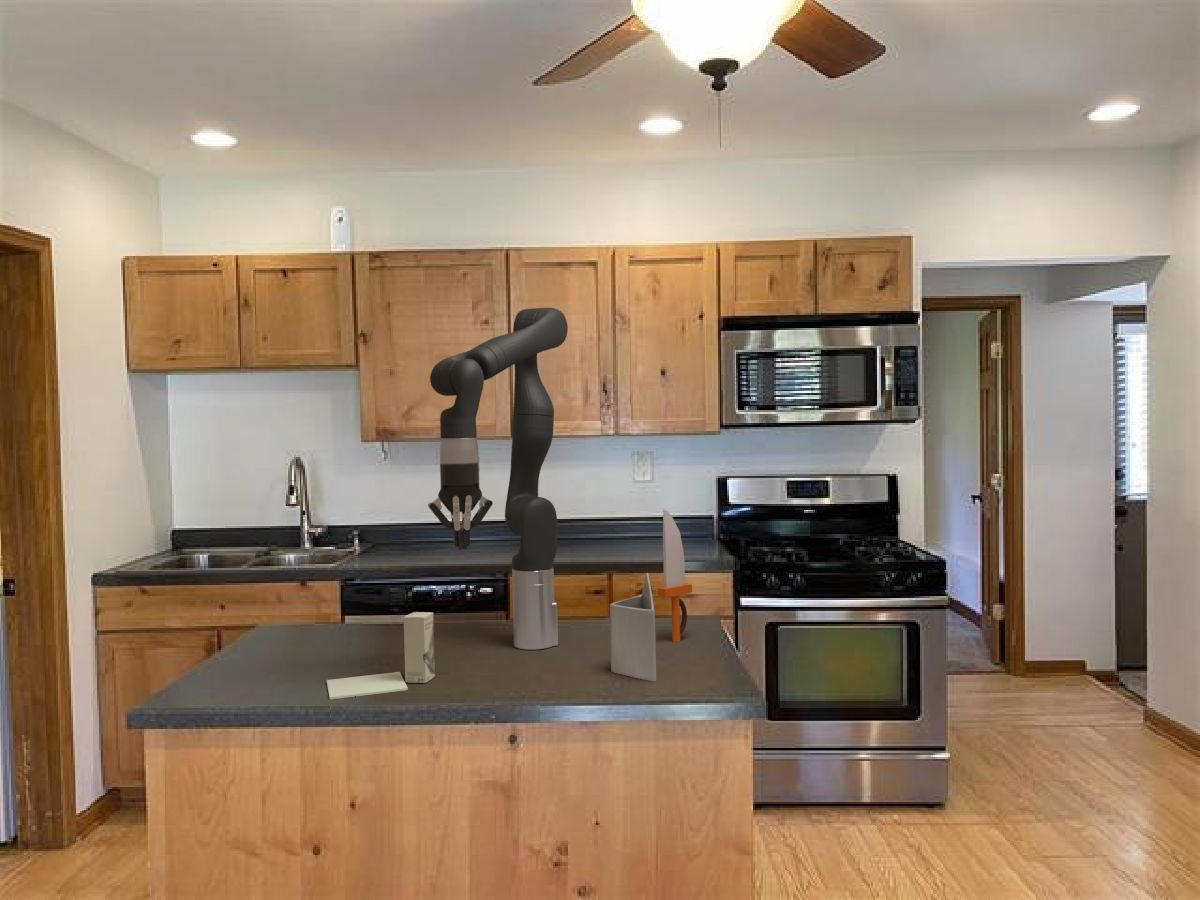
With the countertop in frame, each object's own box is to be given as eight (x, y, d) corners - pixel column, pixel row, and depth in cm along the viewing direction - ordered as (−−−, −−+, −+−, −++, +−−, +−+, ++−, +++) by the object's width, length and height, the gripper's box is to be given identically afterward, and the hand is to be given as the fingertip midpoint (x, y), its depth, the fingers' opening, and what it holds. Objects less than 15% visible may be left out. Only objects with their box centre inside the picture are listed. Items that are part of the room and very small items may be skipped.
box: (425, 684, 171) (423, 617, 170) (404, 683, 172) (402, 616, 171) (436, 676, 176) (434, 611, 176) (415, 675, 177) (413, 611, 176)
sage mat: (399, 673, 178) (399, 671, 178) (407, 690, 167) (407, 688, 167) (326, 682, 174) (326, 680, 174) (329, 699, 162) (329, 697, 162)
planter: (607, 660, 185) (605, 567, 184) (645, 659, 185) (643, 566, 185) (614, 683, 168) (612, 581, 168) (656, 681, 169) (654, 580, 168)
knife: (666, 645, 196) (663, 509, 195) (658, 643, 198) (655, 508, 197) (693, 639, 201) (690, 506, 200) (685, 637, 203) (682, 505, 202)
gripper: (488, 459, 181) (490, 544, 182) (422, 461, 177) (424, 549, 177) (496, 460, 174) (499, 549, 175) (428, 463, 170) (430, 553, 170)
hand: (461, 548), depth 176 cm, fingers closed
